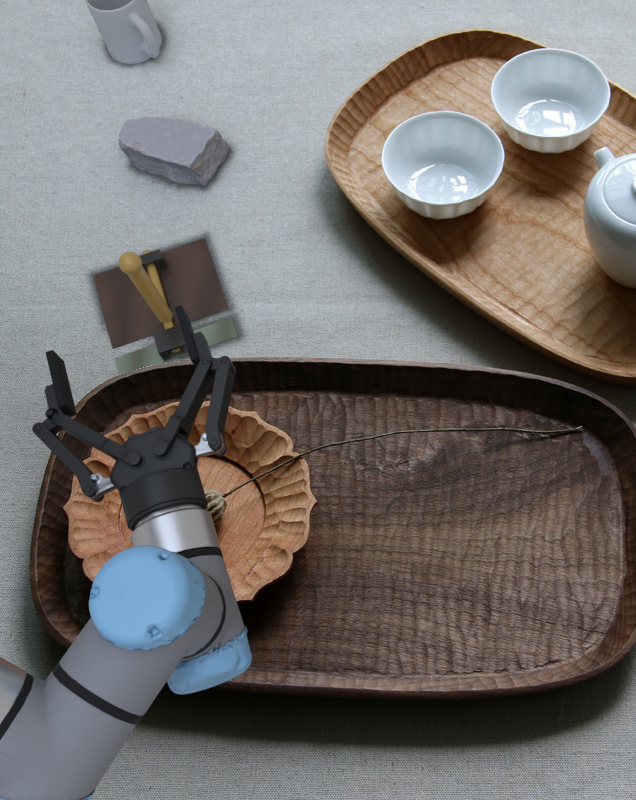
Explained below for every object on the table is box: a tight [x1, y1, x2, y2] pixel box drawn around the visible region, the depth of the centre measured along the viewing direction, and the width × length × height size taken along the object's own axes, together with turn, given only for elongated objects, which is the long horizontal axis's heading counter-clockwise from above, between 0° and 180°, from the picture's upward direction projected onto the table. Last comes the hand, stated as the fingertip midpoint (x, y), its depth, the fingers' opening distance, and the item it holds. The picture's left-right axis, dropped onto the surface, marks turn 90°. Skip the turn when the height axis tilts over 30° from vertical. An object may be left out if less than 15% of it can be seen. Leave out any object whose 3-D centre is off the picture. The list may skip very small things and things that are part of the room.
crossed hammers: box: [118, 249, 180, 352], centre depth 102 cm, size 3×16×16 cm, turn 21°
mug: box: [84, 0, 163, 65], centre depth 123 cm, size 12×8×11 cm
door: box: [92, 237, 239, 375], centre depth 108 cm, size 16×16×4 cm
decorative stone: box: [118, 116, 230, 188], centre depth 116 cm, size 15×7×10 cm
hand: (118, 333), depth 84 cm, fingers open, 13 cm apart
